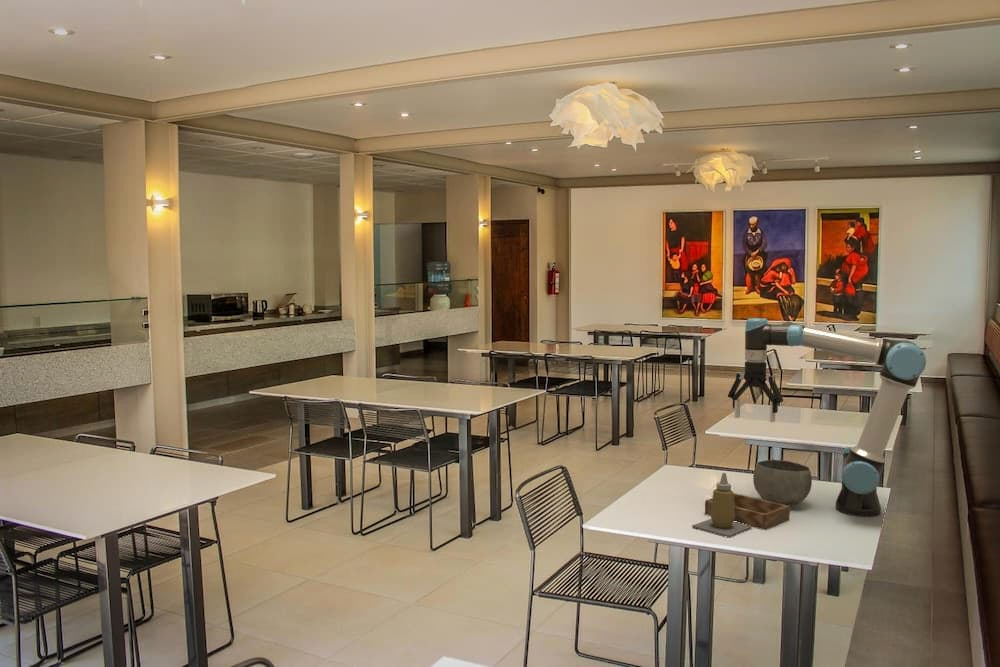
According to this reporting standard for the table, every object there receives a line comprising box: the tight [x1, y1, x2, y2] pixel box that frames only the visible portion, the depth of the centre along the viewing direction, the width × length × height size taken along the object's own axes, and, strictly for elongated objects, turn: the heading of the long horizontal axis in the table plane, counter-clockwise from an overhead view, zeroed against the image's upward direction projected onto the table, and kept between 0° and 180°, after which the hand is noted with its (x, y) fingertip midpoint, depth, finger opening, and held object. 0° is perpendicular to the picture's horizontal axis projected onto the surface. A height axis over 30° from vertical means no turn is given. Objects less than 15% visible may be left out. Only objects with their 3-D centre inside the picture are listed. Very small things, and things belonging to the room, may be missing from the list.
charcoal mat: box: [691, 518, 752, 538], centre depth 278 cm, size 14×14×1 cm
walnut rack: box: [704, 493, 791, 531], centre depth 291 cm, size 23×16×5 cm
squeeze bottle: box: [709, 472, 735, 528], centre depth 277 cm, size 8×8×18 cm
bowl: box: [752, 459, 813, 506], centre depth 308 cm, size 20×20×15 cm
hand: (754, 419), depth 300 cm, fingers open, 13 cm apart
